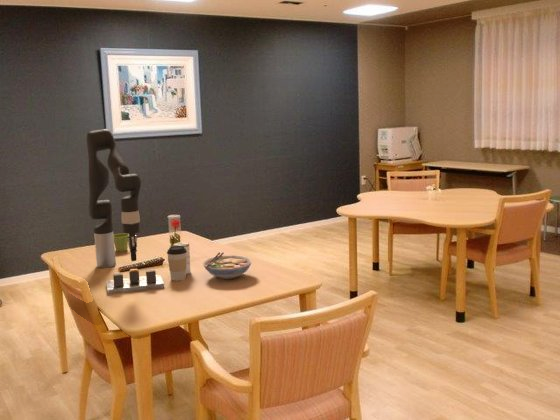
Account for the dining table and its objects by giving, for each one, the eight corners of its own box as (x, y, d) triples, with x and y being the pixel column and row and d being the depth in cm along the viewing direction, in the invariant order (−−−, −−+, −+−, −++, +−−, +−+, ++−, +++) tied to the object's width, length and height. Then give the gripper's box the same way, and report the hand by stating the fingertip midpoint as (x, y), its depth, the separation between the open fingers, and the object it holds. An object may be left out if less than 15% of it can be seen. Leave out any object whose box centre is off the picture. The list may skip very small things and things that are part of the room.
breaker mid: (129, 281, 264) (128, 269, 263) (139, 280, 265) (138, 268, 264) (130, 282, 261) (129, 270, 260) (139, 281, 263) (138, 269, 262)
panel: (106, 285, 267) (106, 280, 266) (160, 278, 274) (160, 274, 273) (107, 294, 253) (107, 290, 253) (164, 287, 261) (163, 283, 260)
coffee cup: (169, 282, 269) (167, 250, 266) (167, 276, 277) (165, 245, 274) (189, 279, 271) (187, 248, 268) (187, 274, 280) (185, 243, 277)
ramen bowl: (245, 286, 260) (244, 268, 258) (195, 284, 264) (194, 266, 263) (258, 270, 284) (257, 253, 282) (212, 268, 288) (212, 252, 287)
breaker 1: (113, 285, 259) (113, 274, 258) (123, 284, 260) (122, 273, 259) (114, 286, 256) (113, 275, 256) (123, 285, 258) (122, 274, 257)
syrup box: (174, 274, 280) (172, 244, 278) (181, 270, 286) (179, 241, 283) (183, 275, 278) (182, 245, 275) (191, 272, 283) (189, 242, 280)
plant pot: (112, 249, 331) (111, 234, 329) (129, 247, 333) (128, 232, 332) (113, 253, 322) (111, 237, 320) (131, 251, 325) (129, 236, 323)
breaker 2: (146, 281, 263) (145, 270, 262) (155, 280, 264) (154, 269, 263) (147, 282, 261) (146, 272, 260) (156, 281, 262) (155, 271, 261)
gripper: (120, 219, 257) (124, 257, 260) (122, 225, 244) (125, 265, 247) (138, 217, 259) (141, 256, 262) (141, 223, 247) (144, 263, 250)
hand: (133, 260), depth 255 cm, fingers closed
